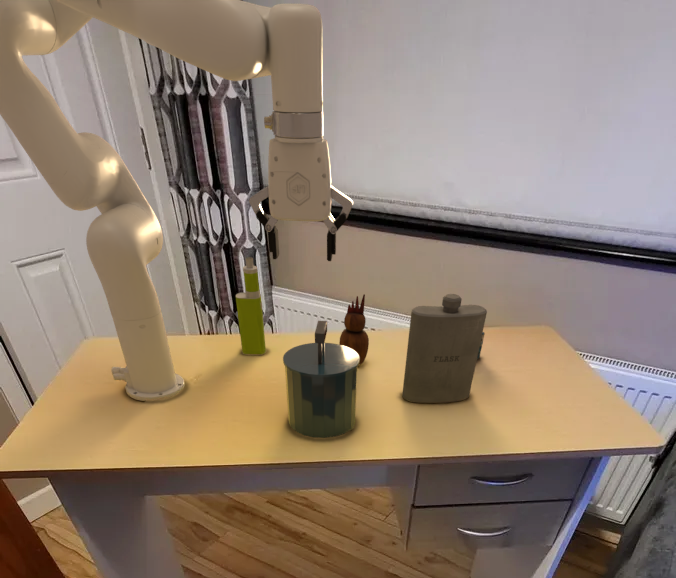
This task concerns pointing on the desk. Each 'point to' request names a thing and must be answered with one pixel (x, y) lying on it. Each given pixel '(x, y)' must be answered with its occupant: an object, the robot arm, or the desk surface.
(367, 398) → the desk surface
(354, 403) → the pot
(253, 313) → the vape
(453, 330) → the flask
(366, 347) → the wooden figurine
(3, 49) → the robot arm
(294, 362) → the lid
